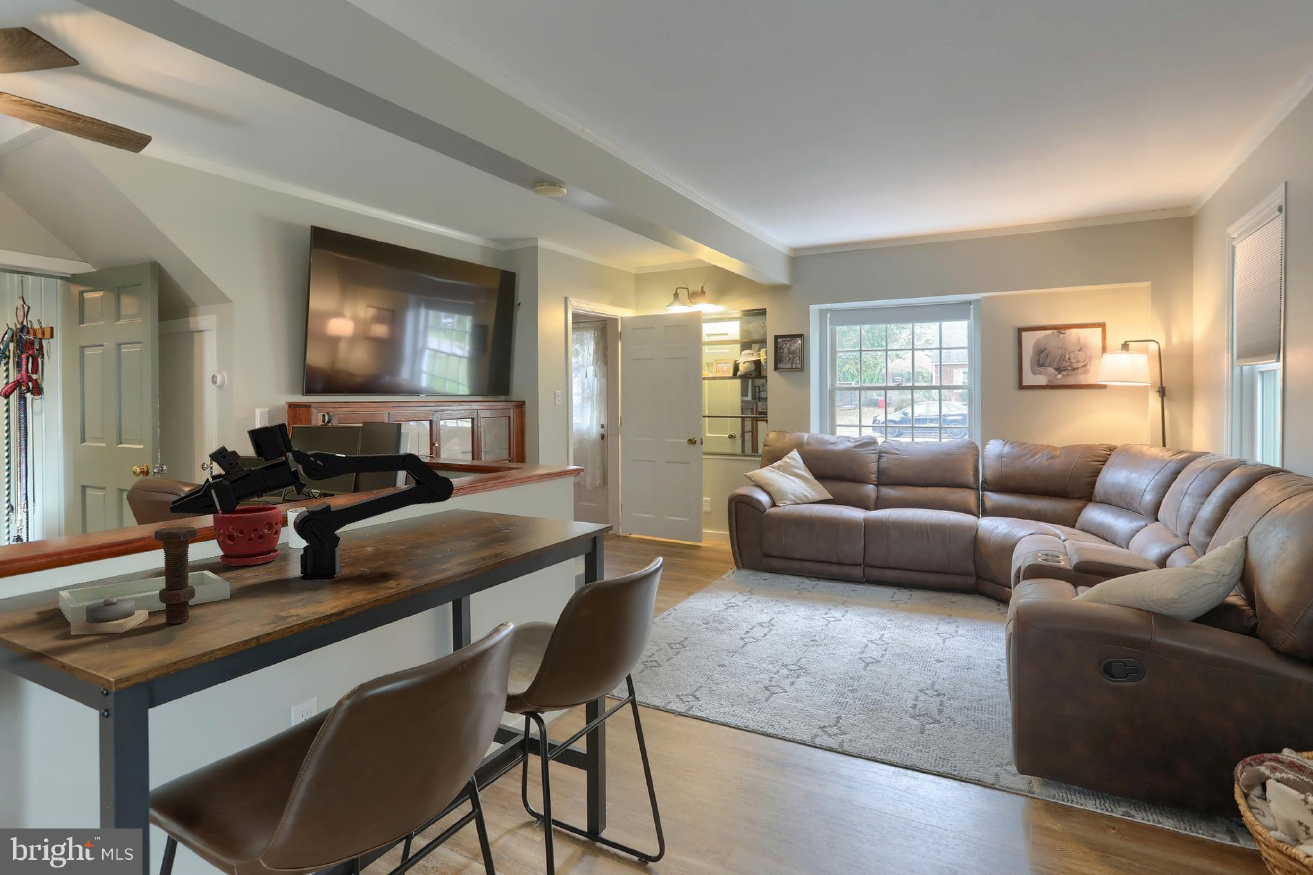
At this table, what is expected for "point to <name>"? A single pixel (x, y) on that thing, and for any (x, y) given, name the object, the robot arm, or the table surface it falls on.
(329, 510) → the robot arm
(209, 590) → the tray
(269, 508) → the plant pot
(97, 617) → the stand
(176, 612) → the bolt
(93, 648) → the table surface
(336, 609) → the table surface
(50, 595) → the table surface
